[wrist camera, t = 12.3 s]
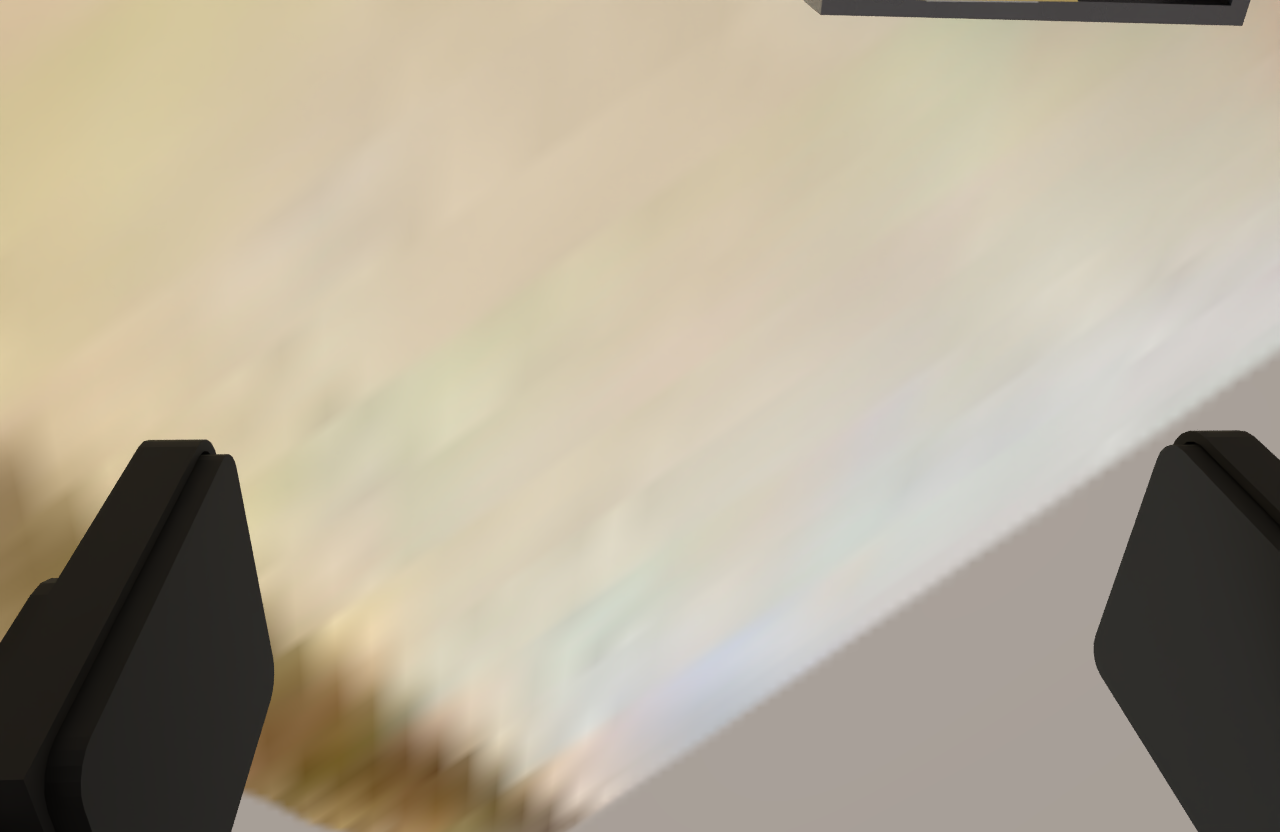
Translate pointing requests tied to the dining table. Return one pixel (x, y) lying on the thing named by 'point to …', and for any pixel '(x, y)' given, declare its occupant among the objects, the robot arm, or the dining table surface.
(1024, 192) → the dining table surface
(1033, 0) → the gold block
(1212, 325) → the dining table surface
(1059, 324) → the dining table surface
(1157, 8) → the tray
